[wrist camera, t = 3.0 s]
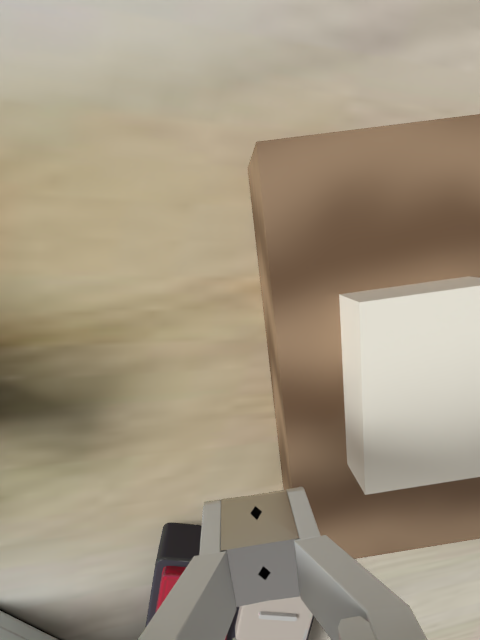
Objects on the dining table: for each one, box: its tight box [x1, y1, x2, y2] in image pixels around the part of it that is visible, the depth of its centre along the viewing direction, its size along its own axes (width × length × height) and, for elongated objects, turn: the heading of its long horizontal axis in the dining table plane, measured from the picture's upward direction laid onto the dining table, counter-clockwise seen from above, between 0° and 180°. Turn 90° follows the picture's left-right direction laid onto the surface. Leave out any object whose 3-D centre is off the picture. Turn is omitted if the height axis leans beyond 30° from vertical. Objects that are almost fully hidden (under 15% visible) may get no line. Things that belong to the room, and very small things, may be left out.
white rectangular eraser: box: [339, 276, 480, 495], centre depth 13 cm, size 9×6×2 cm, turn 7°
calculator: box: [146, 523, 314, 640], centre depth 21 cm, size 11×4×15 cm
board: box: [248, 114, 480, 559], centre depth 16 cm, size 22×14×4 cm, turn 7°
